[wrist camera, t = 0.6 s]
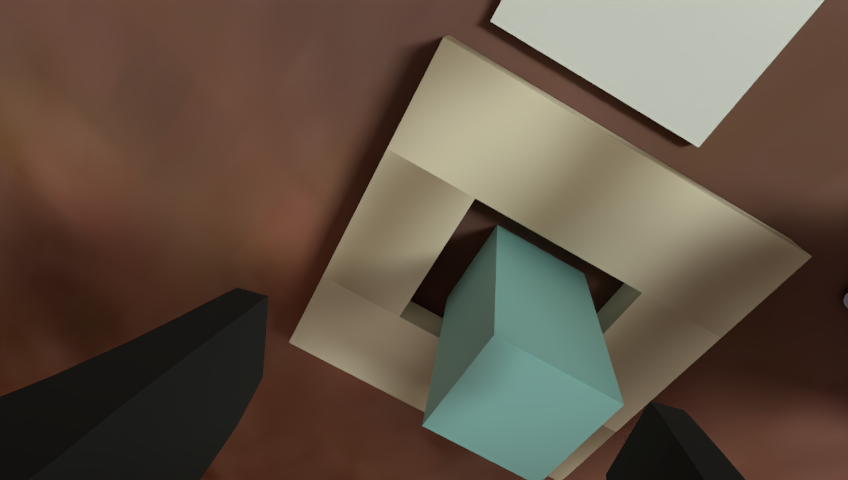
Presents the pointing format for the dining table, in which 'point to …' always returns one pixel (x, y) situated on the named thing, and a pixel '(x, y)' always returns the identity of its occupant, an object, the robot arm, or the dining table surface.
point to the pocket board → (547, 216)
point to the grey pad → (662, 49)
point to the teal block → (520, 360)
